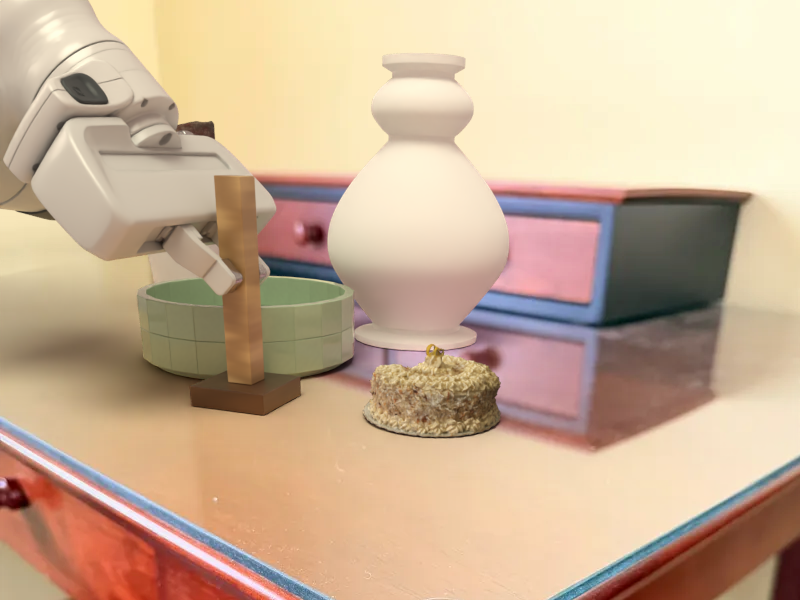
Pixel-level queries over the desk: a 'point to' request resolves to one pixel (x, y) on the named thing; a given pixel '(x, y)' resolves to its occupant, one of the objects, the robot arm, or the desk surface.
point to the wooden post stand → (242, 313)
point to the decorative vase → (419, 215)
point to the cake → (434, 397)
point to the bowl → (281, 326)
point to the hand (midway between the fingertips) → (247, 284)
